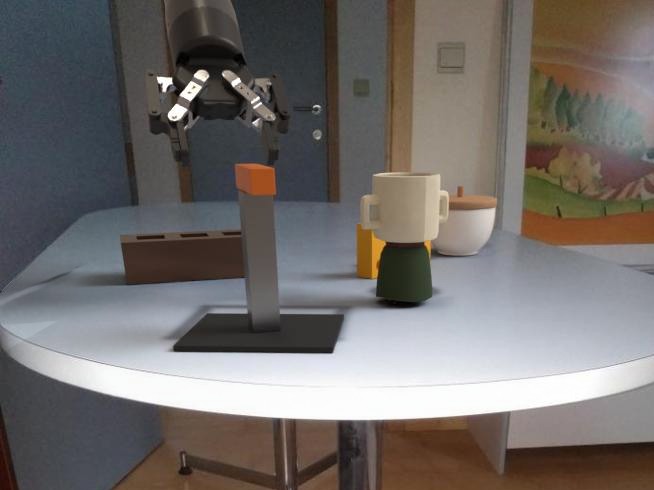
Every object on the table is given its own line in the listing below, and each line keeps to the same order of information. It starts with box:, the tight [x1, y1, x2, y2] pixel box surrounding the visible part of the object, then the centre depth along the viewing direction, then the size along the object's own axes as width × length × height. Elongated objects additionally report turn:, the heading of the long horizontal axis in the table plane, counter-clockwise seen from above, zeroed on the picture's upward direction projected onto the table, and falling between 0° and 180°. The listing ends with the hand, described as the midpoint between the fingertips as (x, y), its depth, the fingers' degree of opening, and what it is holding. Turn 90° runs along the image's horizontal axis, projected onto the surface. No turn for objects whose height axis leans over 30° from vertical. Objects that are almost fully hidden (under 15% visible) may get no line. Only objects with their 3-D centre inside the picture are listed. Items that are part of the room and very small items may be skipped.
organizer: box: [119, 228, 245, 286], centre depth 93 cm, size 7×18×5 cm, turn 108°
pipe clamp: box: [356, 222, 432, 280], centre depth 95 cm, size 12×4×6 cm, turn 137°
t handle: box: [234, 163, 281, 333], centre depth 64 cm, size 8×3×14 cm, turn 18°
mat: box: [172, 312, 345, 354], centre depth 68 cm, size 14×12×1 cm
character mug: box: [359, 171, 450, 305], centre depth 77 cm, size 11×7×13 cm, turn 121°
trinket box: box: [431, 185, 498, 257], centre depth 107 cm, size 11×11×9 cm
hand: (229, 160), depth 72 cm, fingers open, 8 cm apart
